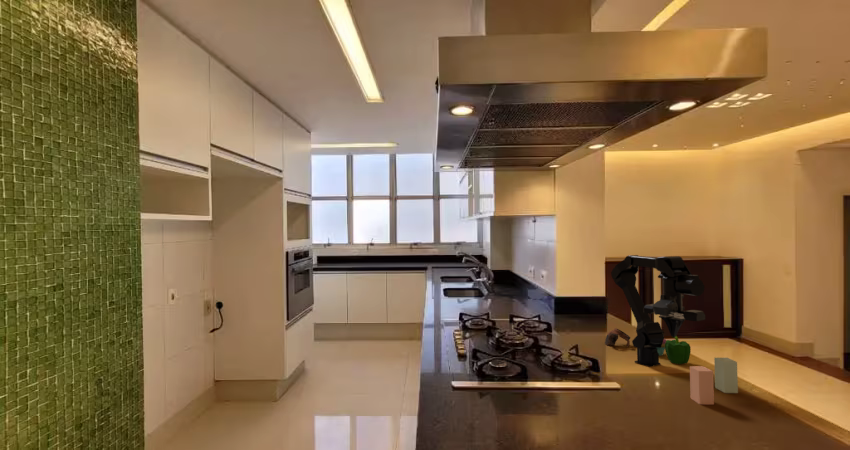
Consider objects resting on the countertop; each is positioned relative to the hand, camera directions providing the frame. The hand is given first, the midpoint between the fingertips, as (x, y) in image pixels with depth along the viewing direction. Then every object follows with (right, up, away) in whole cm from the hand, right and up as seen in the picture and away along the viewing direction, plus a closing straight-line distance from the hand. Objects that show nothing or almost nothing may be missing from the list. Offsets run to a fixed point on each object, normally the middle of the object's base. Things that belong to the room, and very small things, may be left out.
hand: (673, 336), depth 147 cm
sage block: (+7, -13, -16) cm, 21 cm away
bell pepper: (+9, -13, +13) cm, 20 cm away
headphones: (-3, -14, +38) cm, 40 cm away
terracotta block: (-6, -13, -24) cm, 28 cm away
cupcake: (+7, -14, +24) cm, 29 cm away
